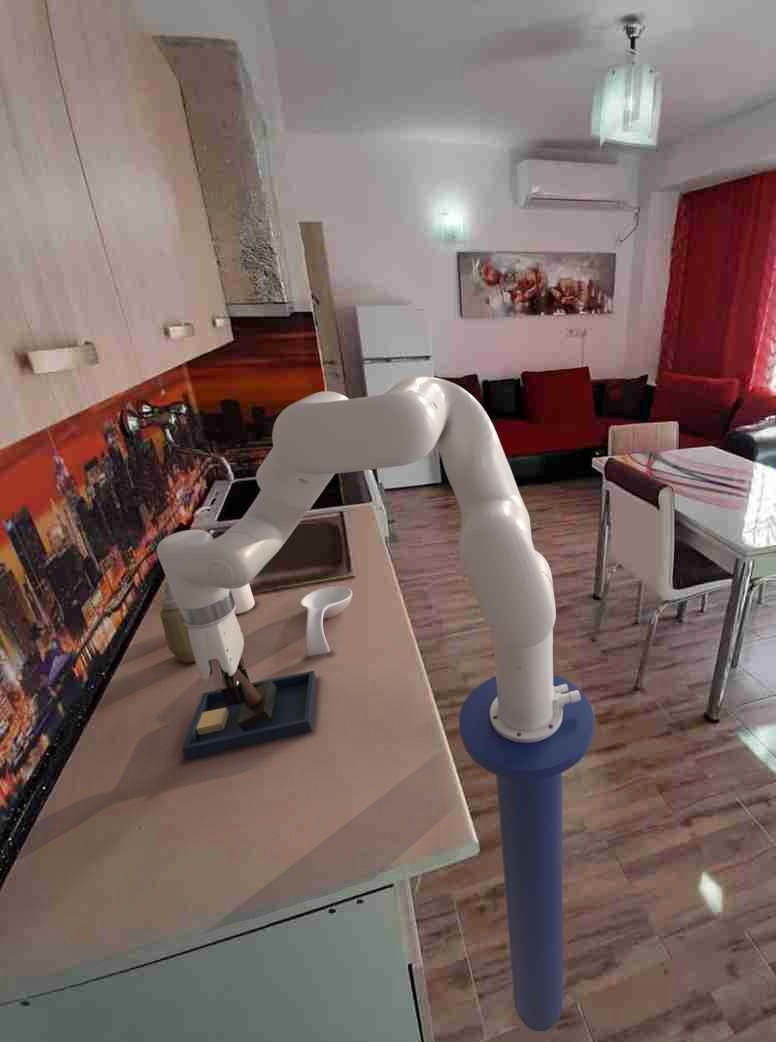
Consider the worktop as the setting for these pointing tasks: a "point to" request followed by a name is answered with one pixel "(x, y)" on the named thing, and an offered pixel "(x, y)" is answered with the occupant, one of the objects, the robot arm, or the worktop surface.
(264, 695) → the stamp with brown handle
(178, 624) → the squeeze bottle
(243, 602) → the can
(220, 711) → the yellow square block
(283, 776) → the worktop surface
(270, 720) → the tray
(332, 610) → the spoon rest
